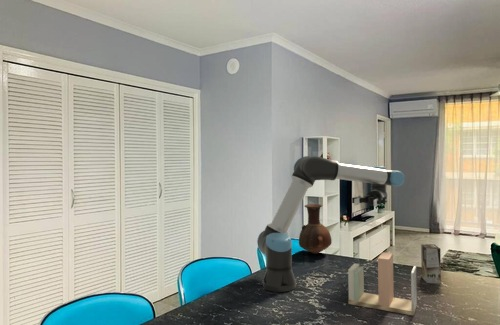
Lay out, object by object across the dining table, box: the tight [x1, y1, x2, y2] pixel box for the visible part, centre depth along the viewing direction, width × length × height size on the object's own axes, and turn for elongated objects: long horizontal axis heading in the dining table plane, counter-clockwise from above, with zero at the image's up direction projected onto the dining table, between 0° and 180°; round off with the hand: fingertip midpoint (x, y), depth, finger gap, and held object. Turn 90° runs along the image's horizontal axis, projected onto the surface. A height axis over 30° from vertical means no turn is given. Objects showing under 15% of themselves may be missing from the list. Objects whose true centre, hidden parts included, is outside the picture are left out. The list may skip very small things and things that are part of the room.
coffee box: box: [420, 243, 442, 284], centre depth 171 cm, size 9×6×16 cm
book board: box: [348, 292, 418, 316], centre depth 144 cm, size 24×11×2 cm, turn 60°
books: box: [347, 262, 365, 301], centre depth 149 cm, size 4×10×12 cm, turn 150°
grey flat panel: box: [410, 265, 418, 311], centre depth 138 cm, size 1×10×14 cm, turn 150°
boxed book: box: [377, 252, 395, 307], centre depth 143 cm, size 4×10×18 cm, turn 150°
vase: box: [298, 203, 333, 255], centre depth 222 cm, size 25×20×30 cm
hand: (364, 202), depth 164 cm, fingers open, 8 cm apart
